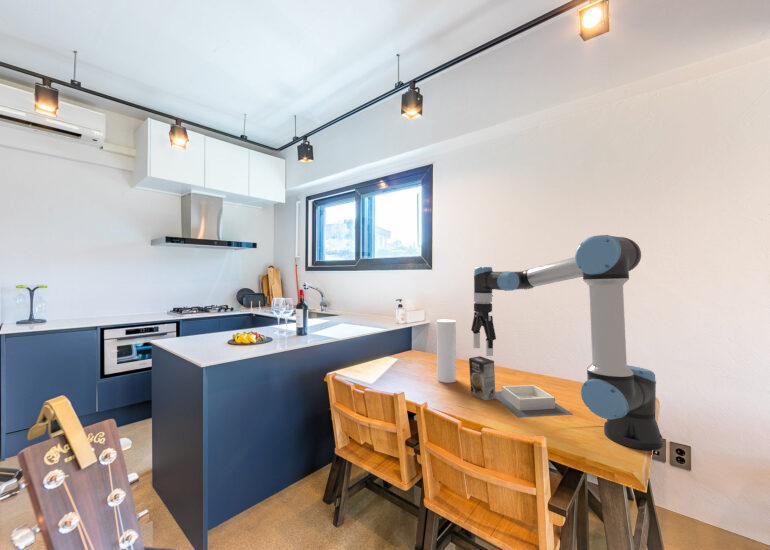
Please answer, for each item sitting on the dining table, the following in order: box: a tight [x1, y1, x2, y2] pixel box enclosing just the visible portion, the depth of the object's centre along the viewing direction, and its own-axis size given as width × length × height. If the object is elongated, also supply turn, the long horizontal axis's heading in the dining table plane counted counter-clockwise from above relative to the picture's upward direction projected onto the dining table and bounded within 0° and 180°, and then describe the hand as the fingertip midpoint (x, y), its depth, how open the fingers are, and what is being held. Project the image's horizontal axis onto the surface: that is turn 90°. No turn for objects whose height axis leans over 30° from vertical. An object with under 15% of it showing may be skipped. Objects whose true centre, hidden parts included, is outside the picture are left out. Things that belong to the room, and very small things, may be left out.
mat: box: [495, 390, 574, 419], centre depth 135 cm, size 26×22×1 cm
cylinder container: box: [436, 318, 457, 384], centre depth 165 cm, size 9×9×30 cm
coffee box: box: [468, 355, 496, 401], centre depth 142 cm, size 9×6×16 cm
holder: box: [501, 384, 556, 410], centre depth 135 cm, size 15×15×4 cm
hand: (482, 351), depth 142 cm, fingers open, 13 cm apart
